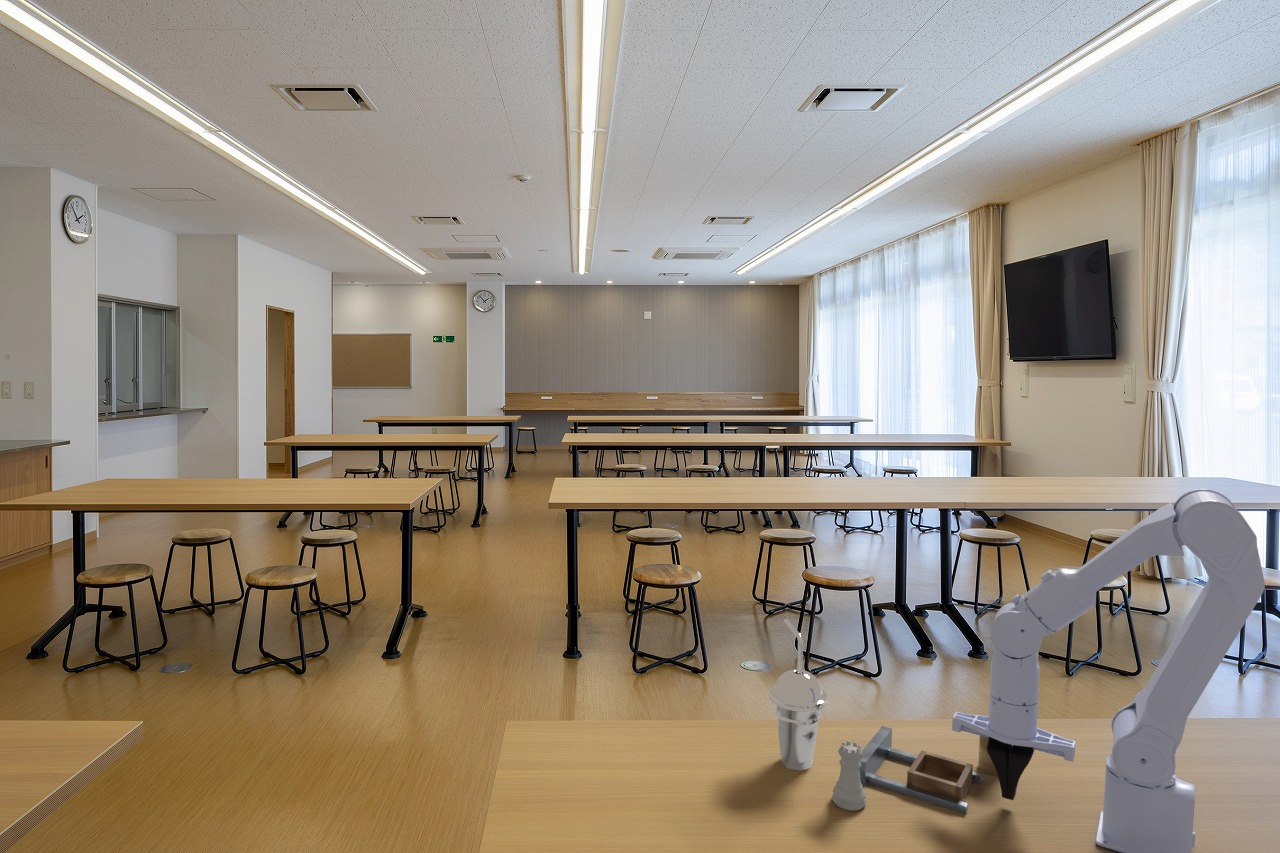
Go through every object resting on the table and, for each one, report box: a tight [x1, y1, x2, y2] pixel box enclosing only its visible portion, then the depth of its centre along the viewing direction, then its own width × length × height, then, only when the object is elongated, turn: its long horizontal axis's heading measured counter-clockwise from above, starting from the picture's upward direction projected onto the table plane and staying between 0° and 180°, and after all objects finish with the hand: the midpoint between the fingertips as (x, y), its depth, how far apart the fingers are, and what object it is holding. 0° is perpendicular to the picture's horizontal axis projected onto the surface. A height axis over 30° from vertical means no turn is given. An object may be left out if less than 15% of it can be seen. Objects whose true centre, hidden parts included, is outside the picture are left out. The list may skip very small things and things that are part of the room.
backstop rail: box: [859, 725, 983, 815], centre depth 111 cm, size 14×12×4 cm
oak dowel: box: [977, 713, 998, 776], centre depth 114 cm, size 4×4×8 cm
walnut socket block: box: [906, 750, 974, 802], centre depth 109 cm, size 7×7×3 cm
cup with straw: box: [768, 618, 829, 771], centre depth 115 cm, size 8×9×20 cm
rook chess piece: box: [831, 740, 867, 812], centre depth 105 cm, size 4×4×8 cm
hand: (1008, 795), depth 104 cm, fingers closed
